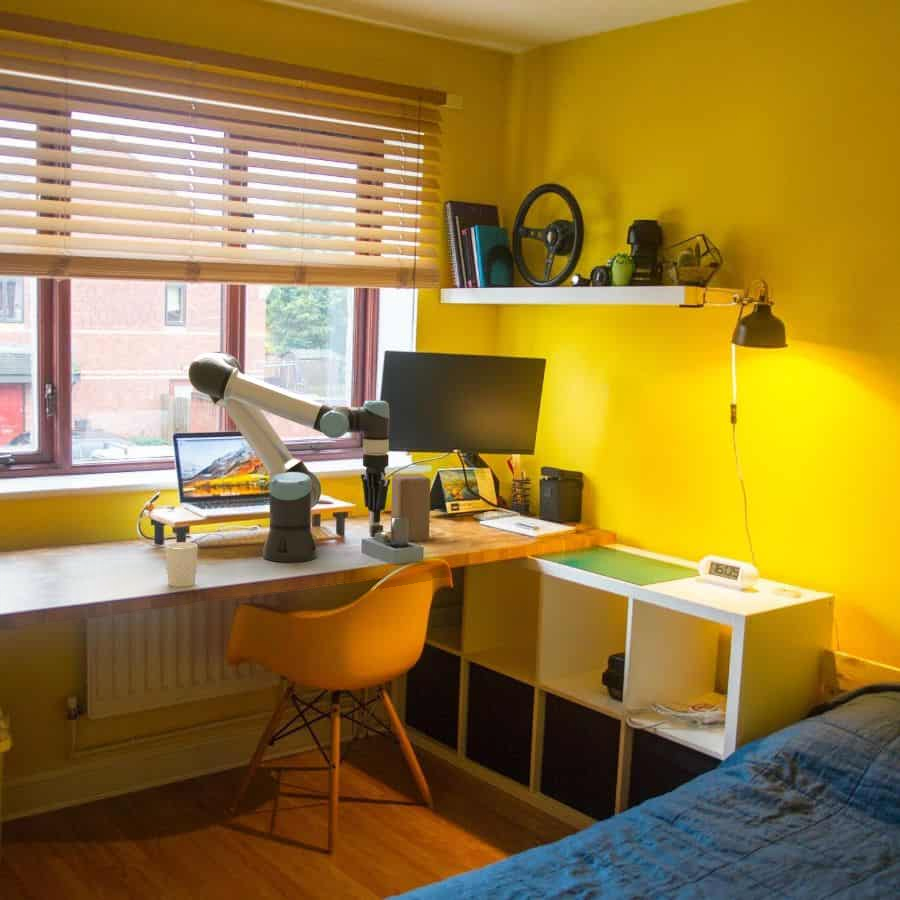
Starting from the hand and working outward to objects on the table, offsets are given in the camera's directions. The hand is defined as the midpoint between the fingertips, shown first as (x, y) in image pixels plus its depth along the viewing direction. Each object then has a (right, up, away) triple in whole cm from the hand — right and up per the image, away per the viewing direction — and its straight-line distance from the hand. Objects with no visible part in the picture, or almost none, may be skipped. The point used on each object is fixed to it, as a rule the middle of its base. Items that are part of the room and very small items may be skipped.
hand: (374, 532), depth 324 cm
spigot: (+8, -7, -11) cm, 15 cm away
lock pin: (+3, -2, -4) cm, 5 cm away
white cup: (-46, -10, -46) cm, 66 cm away
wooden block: (+10, -4, +18) cm, 21 cm away
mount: (+6, -6, -8) cm, 11 cm away
